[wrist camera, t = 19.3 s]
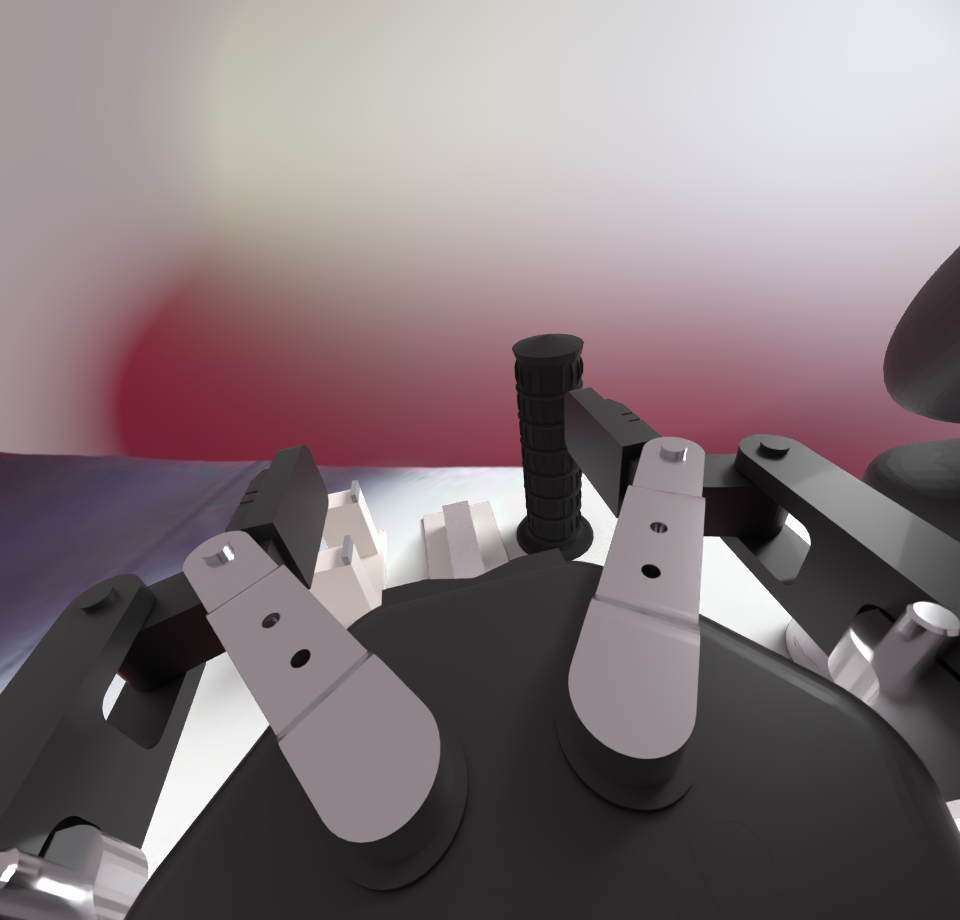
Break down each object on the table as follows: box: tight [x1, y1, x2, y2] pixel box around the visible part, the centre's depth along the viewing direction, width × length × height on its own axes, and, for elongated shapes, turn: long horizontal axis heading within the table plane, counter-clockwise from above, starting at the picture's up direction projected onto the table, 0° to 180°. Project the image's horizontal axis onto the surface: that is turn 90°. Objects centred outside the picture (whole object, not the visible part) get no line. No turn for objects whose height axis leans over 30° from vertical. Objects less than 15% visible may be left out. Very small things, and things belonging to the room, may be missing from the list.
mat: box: [423, 501, 509, 579], centre depth 47 cm, size 10×28×1 cm, turn 10°
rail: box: [442, 501, 486, 579], centre depth 45 cm, size 24×4×4 cm, turn 10°
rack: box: [309, 480, 387, 629], centre depth 47 cm, size 7×16×11 cm, turn 10°
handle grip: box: [512, 334, 594, 561], centre depth 45 cm, size 10×26×10 cm
